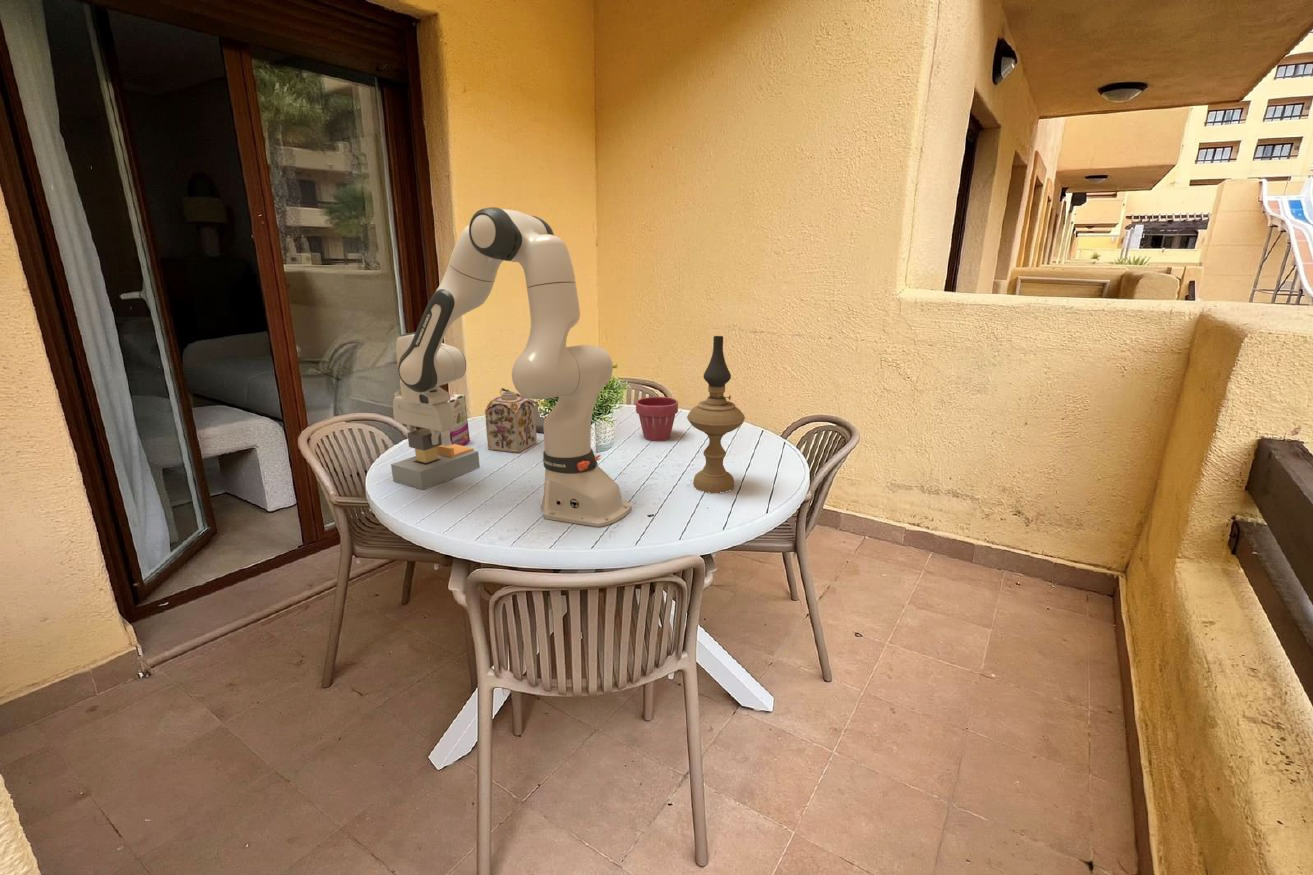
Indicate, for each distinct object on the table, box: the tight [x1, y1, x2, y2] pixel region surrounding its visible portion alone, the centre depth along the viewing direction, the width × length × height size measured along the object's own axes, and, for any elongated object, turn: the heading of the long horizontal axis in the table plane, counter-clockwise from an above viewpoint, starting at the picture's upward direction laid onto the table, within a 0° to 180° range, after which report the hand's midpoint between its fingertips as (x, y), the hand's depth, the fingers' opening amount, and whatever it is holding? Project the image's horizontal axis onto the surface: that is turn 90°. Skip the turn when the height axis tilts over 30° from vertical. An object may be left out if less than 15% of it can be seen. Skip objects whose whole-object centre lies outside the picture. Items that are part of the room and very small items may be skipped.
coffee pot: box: [499, 387, 545, 433], centre depth 207 cm, size 21×12×15 cm, turn 87°
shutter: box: [437, 444, 475, 458], centre depth 168 cm, size 8×8×3 cm
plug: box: [407, 428, 442, 463], centre depth 160 cm, size 6×6×8 cm
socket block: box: [390, 445, 481, 491], centre depth 164 cm, size 12×20×5 cm, turn 150°
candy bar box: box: [441, 393, 471, 446], centre depth 187 cm, size 11×5×16 cm, turn 168°
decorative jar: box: [484, 391, 538, 454], centre depth 187 cm, size 12×12×18 cm
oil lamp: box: [686, 335, 746, 494], centre depth 151 cm, size 15×15×40 cm
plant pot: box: [635, 396, 679, 442], centre depth 198 cm, size 14×14×13 cm
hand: (425, 442), depth 160 cm, fingers closed on plug, 6 cm apart
